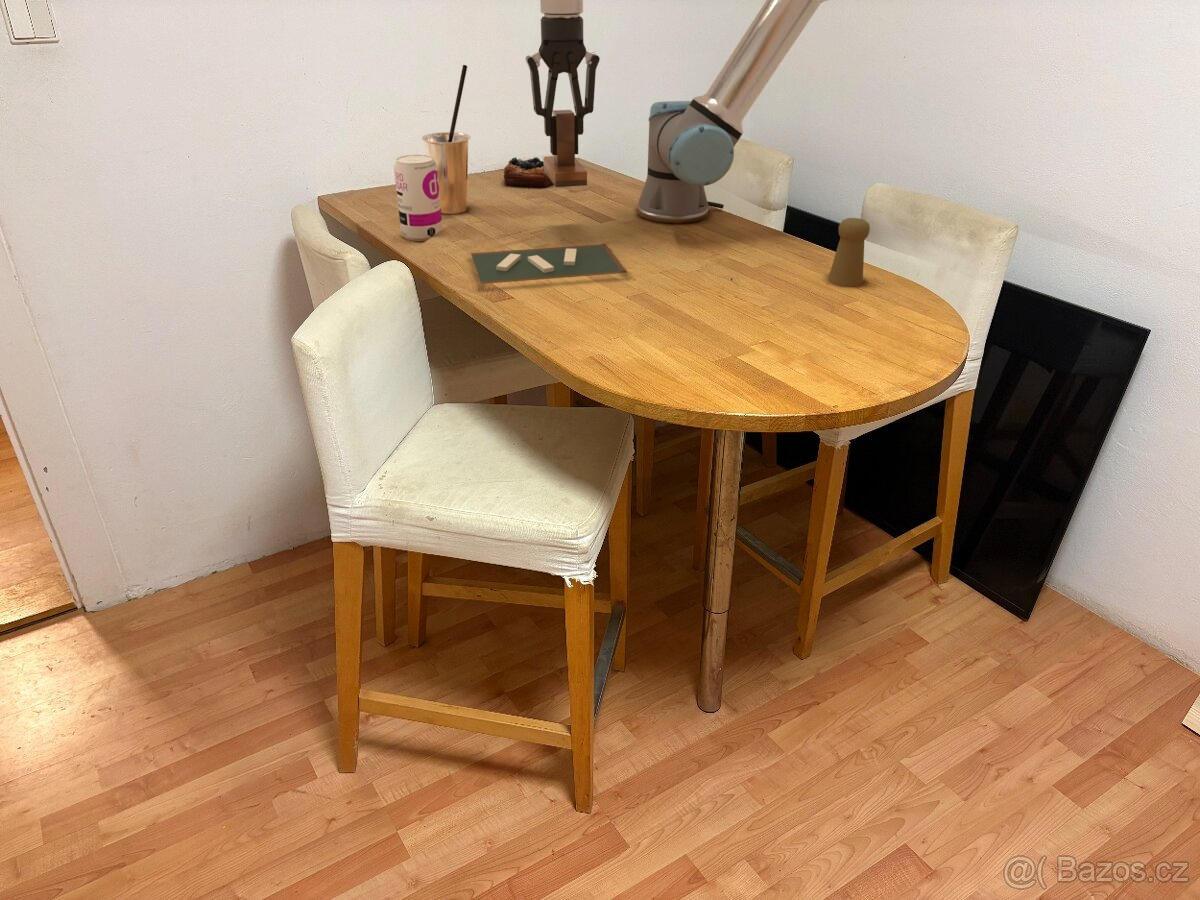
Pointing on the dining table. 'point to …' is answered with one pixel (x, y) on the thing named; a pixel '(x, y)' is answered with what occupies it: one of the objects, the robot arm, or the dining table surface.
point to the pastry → (526, 173)
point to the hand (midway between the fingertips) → (564, 152)
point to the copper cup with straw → (451, 161)
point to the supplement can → (418, 197)
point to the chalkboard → (586, 263)
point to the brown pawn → (850, 253)
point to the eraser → (565, 154)
